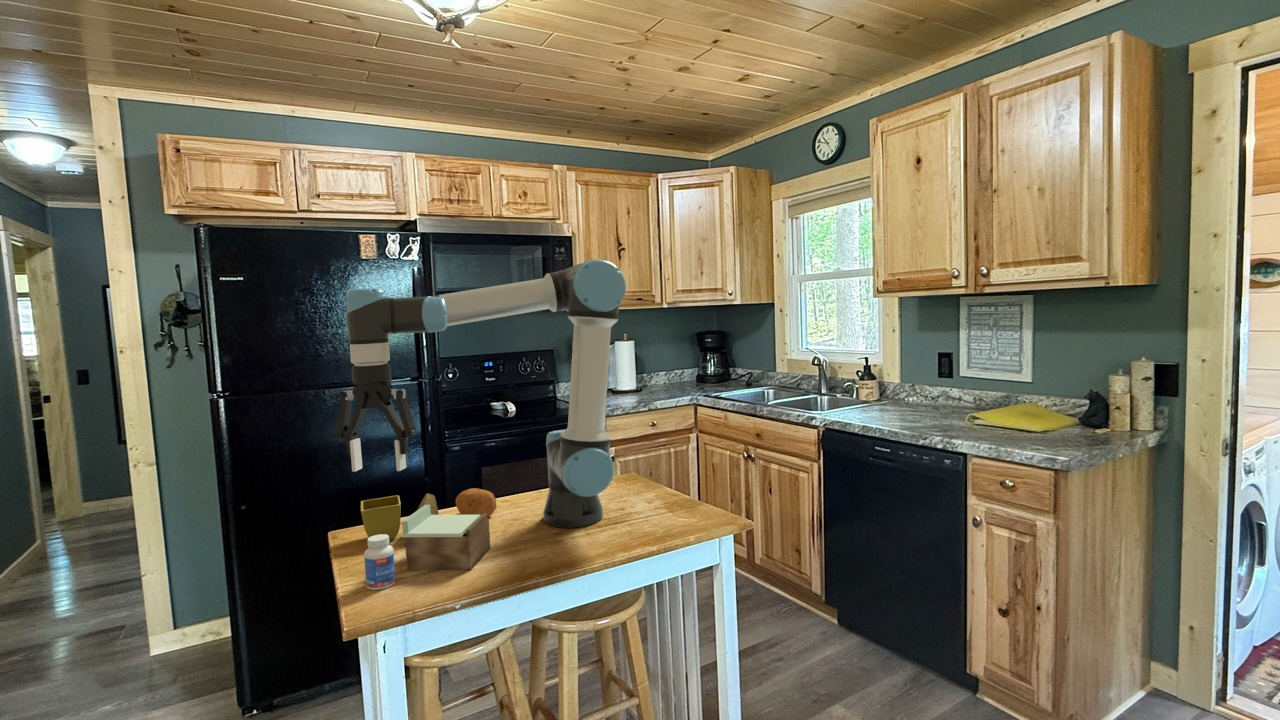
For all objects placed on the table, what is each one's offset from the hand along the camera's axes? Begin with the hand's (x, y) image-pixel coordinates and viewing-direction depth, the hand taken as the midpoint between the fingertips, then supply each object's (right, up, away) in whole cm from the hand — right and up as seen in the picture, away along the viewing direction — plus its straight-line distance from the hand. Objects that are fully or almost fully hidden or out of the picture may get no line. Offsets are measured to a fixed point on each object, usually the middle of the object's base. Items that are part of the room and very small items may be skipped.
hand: (379, 469), depth 133 cm
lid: (+12, -14, +5) cm, 19 cm away
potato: (+11, -18, +34) cm, 40 cm away
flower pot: (-7, -20, +20) cm, 29 cm away
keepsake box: (+13, -21, +6) cm, 25 cm away
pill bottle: (+3, -22, -6) cm, 23 cm away
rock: (+3, -20, +20) cm, 28 cm away
